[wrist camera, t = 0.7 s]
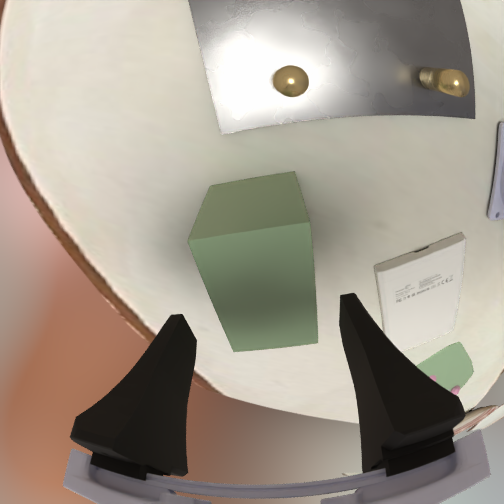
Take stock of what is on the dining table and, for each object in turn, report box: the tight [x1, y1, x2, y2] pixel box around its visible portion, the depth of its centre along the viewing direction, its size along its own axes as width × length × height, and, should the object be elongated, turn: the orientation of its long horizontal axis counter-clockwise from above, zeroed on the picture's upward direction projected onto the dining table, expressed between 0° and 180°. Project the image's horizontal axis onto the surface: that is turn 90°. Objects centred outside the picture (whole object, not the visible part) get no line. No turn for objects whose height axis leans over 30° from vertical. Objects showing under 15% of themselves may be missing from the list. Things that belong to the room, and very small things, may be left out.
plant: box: [416, 342, 474, 395], centre depth 30 cm, size 25×21×9 cm
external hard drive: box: [374, 232, 466, 352], centre depth 21 cm, size 2×8×12 cm
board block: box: [188, 171, 318, 352], centre depth 16 cm, size 5×8×6 cm, turn 11°
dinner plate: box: [453, 405, 498, 435], centre depth 53 cm, size 28×27×3 cm
